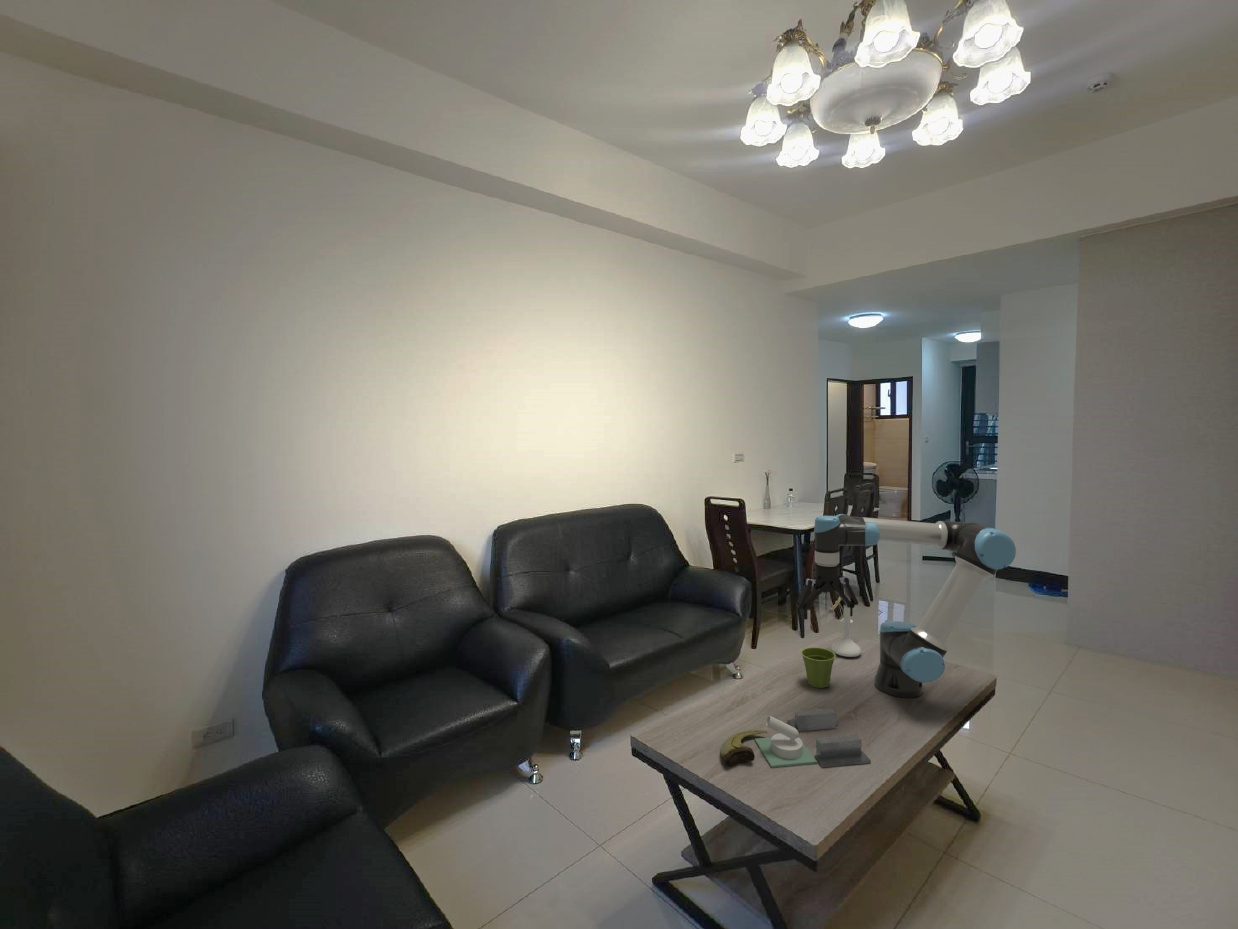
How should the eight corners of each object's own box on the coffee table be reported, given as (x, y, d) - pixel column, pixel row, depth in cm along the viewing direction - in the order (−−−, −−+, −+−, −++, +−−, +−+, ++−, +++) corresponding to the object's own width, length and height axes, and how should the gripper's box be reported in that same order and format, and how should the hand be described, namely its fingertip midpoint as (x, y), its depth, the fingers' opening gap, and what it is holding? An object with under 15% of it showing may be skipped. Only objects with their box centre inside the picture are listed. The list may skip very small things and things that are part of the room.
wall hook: (764, 708, 159) (800, 711, 157) (765, 739, 159) (800, 742, 157) (766, 724, 150) (804, 727, 148) (767, 757, 151) (804, 760, 149)
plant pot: (830, 676, 199) (829, 646, 198) (840, 692, 187) (840, 660, 187) (797, 676, 200) (797, 646, 199) (805, 691, 188) (805, 660, 188)
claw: (750, 773, 145) (749, 761, 144) (713, 765, 149) (712, 753, 149) (766, 735, 162) (765, 724, 162) (733, 729, 167) (732, 718, 167)
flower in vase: (842, 645, 226) (842, 587, 224) (867, 655, 216) (867, 594, 215) (822, 653, 219) (822, 593, 217) (847, 663, 209) (847, 600, 208)
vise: (830, 718, 171) (830, 703, 170) (870, 763, 148) (870, 745, 148) (787, 722, 169) (787, 707, 169) (822, 767, 147) (822, 750, 146)
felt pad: (796, 736, 161) (796, 735, 161) (816, 763, 148) (816, 761, 148) (754, 740, 160) (754, 738, 160) (771, 767, 147) (771, 765, 147)
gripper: (857, 558, 180) (857, 620, 182) (785, 562, 178) (786, 625, 179) (869, 564, 173) (869, 628, 174) (795, 568, 170) (795, 634, 172)
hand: (827, 627), depth 177 cm, fingers open, 13 cm apart
